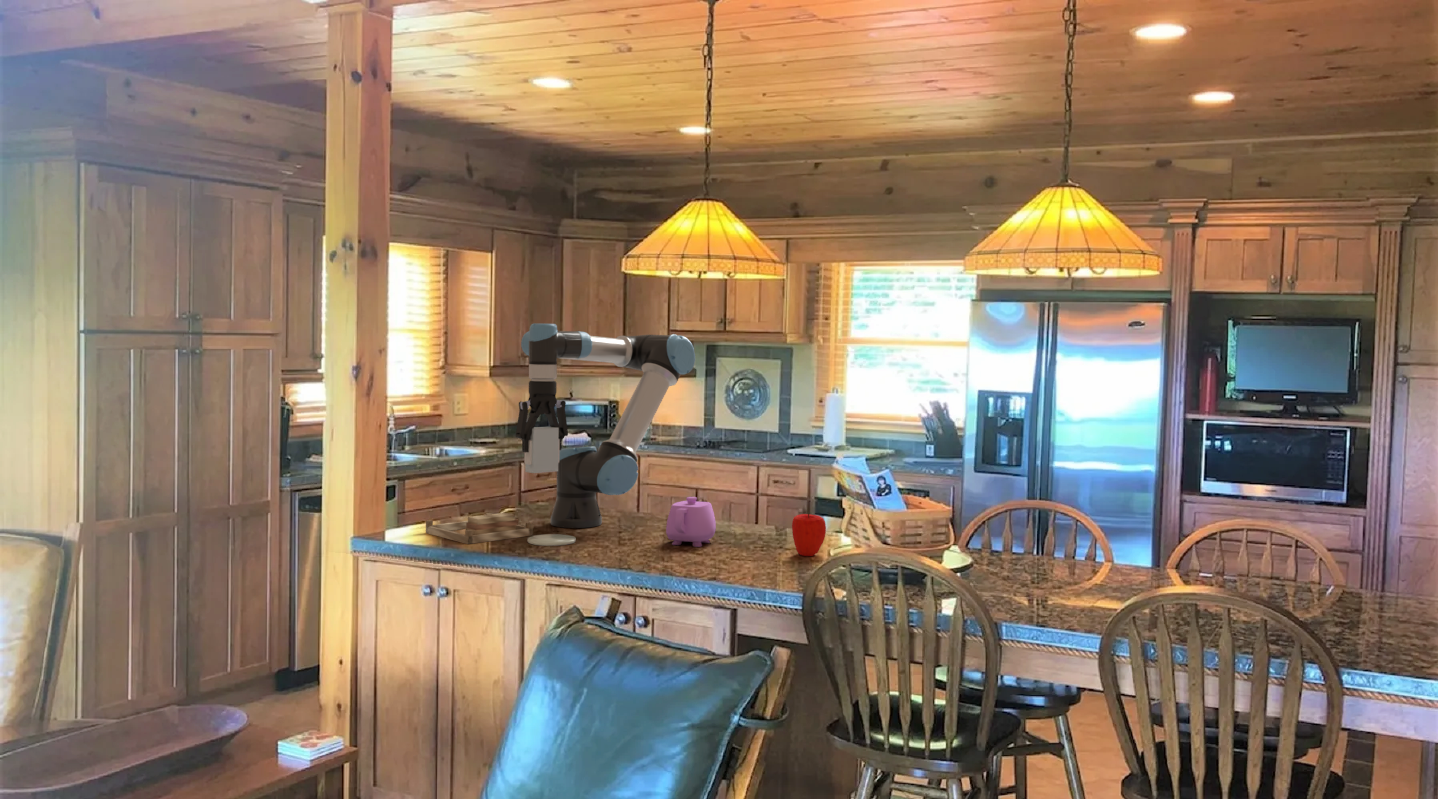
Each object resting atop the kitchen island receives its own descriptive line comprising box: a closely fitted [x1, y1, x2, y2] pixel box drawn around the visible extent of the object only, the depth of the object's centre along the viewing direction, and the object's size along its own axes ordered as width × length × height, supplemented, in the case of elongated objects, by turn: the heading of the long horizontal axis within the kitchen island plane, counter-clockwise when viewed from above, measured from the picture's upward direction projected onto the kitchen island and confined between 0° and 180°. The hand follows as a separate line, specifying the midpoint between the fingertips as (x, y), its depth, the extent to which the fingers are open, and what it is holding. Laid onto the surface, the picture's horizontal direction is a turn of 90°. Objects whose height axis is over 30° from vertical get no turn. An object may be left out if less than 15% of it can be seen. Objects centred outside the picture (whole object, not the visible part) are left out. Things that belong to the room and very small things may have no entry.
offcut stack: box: [465, 512, 519, 535], centre depth 319 cm, size 14×5×6 cm, turn 134°
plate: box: [527, 533, 577, 547], centre depth 314 cm, size 13×13×1 cm
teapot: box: [665, 496, 717, 548], centre depth 315 cm, size 20×12×13 cm, turn 160°
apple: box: [791, 513, 827, 557], centre depth 301 cm, size 9×9×11 cm
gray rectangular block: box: [524, 426, 559, 474], centre depth 314 cm, size 8×4×12 cm, turn 131°
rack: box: [425, 512, 534, 545], centre depth 324 cm, size 21×22×4 cm
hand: (541, 463), depth 314 cm, fingers closed on gray rectangular block, 8 cm apart
